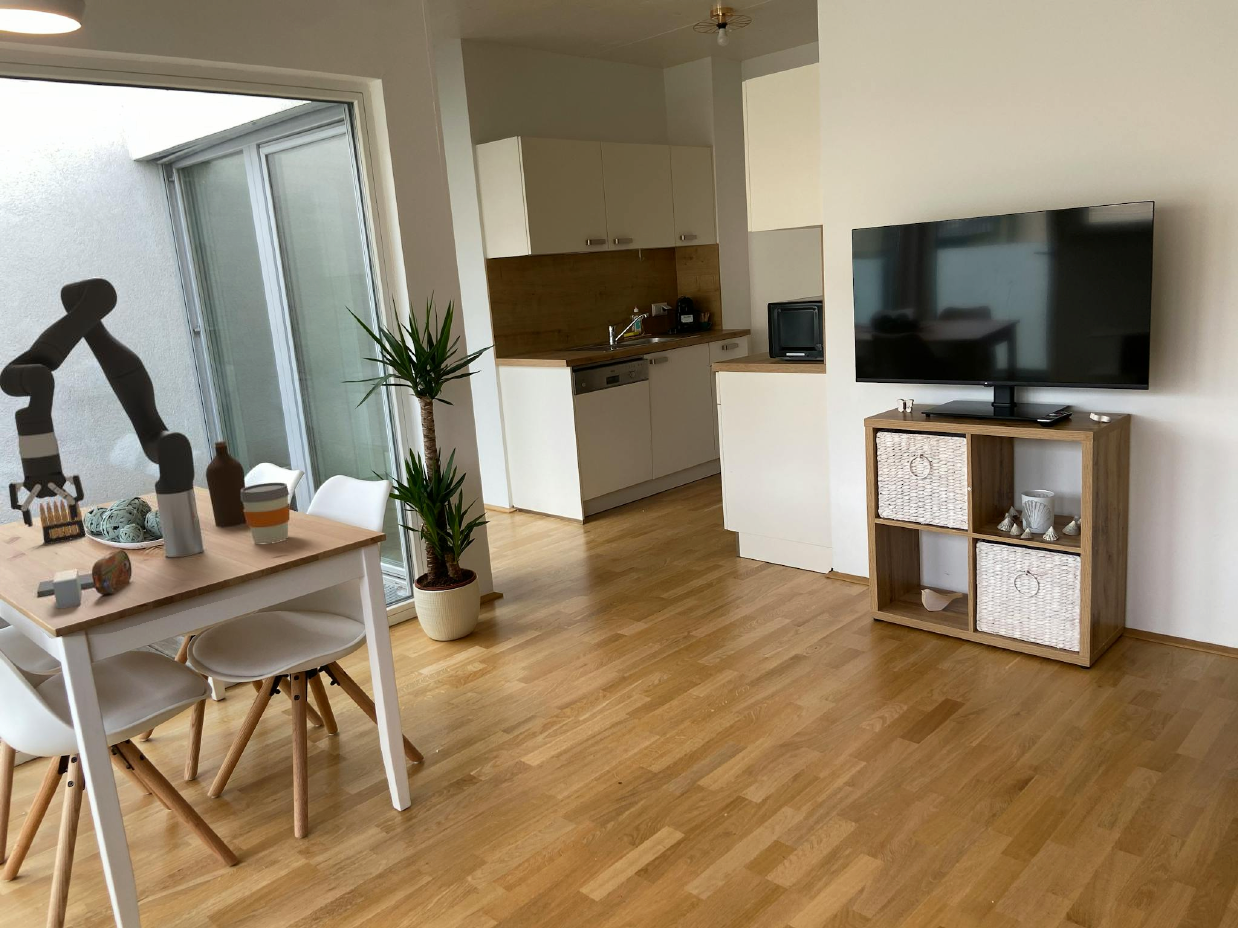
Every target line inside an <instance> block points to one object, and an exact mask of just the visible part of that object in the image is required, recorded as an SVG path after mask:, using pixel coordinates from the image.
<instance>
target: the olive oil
mask: <svg viewBox="0 0 1238 928" xmlns="http://www.w3.org/2000/svg"><path fill="white" fill-rule="evenodd" d="M214 445H215V446H214V450H215V456H214V457H213V458H212V460H211V461H210V463H209V464H208V465H207V466H206V471H205V479H206V483H207V488H208V493H209V497H210V501H211V502H210V503H211V507H212V512H213V518H214V519H213V520H214V523H215V525H216V527H231V526H238V525H241V523H242V524H244V523H247V521H246V518H245V514H244V509H245V508H244V505H243V502H242V501H241V489H243V488H245V487H246V482H245V481H246V480H245V470H244V467H243V465H242V464H241V462H239V460H238V459H236V458H235V457H233V456H232V455H231V454H229V452H228V445H227V441H226V440H218V441H214Z"/></svg>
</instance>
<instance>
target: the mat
mask: <svg viewBox="0 0 1238 928" xmlns="http://www.w3.org/2000/svg"><path fill="white" fill-rule="evenodd" d="M79 580H80V585H81V590H82V589H83V590H84V589H88V588H93V587H94V588H95V585H94V582H93V577H92V572H91V573H85V574H81V575H80V574H79ZM53 581H54V579H52V580H45V581H40V582H39V584H38V587H37V590H36V594H37V597H38V598H39V597H45V596H50V595H53V594H54V595H55V593H54V587H53Z"/></svg>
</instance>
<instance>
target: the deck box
mask: <svg viewBox="0 0 1238 928" xmlns="http://www.w3.org/2000/svg"><path fill="white" fill-rule="evenodd" d="M79 575H80V574H79V569H78V568H76V569H69V570H64V571H63V570H62V571H58V572H55V573H54V578H53V580H54V581H53V587H54V593H55V594H54V598H55V603H56V608H57V609H56V610H59V609H64V607H65V608H70V607H75V606H81V605H80V604H82V603H81V602H82V595H83V592H82V589H81V585H80V580H79Z"/></svg>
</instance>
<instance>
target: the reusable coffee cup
mask: <svg viewBox="0 0 1238 928" xmlns="http://www.w3.org/2000/svg"><path fill="white" fill-rule="evenodd" d="M289 495H290V492H289V488H288V485H287V483H285V482H265V483H259V484H252V485H249V486H245V488H243V489H241V501H242V502H243V505H244V508H245V509H244V514H245V518H246V521H247V522H246V526H247V527H249V529H250V532H251V537H252V540H253V543H254V544H255V543H272V542H277V541H280V540H284V539H286V538H287V537H289V521H290V503H289ZM287 539H288V538H287ZM287 539H286V540H287ZM284 541H285V540H284ZM277 543H278V542H277ZM272 544H273V543H272Z"/></svg>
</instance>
